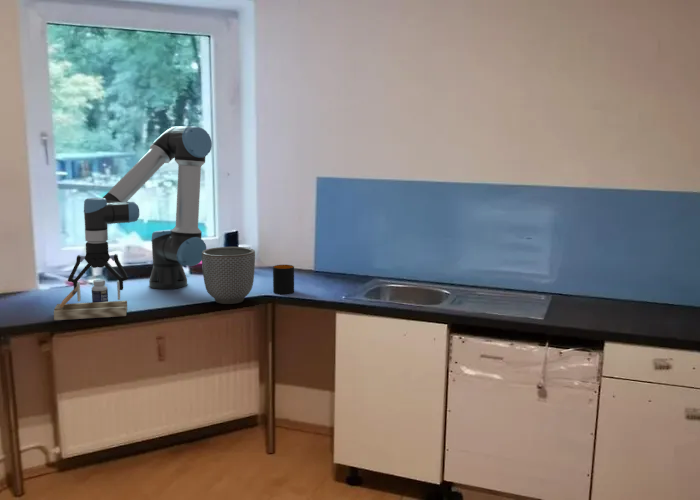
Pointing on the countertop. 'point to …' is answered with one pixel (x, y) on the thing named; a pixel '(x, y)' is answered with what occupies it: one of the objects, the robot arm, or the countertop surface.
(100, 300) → the pill bottle
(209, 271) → the planter
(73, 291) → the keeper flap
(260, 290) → the countertop surface
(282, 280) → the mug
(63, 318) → the wooden tray
